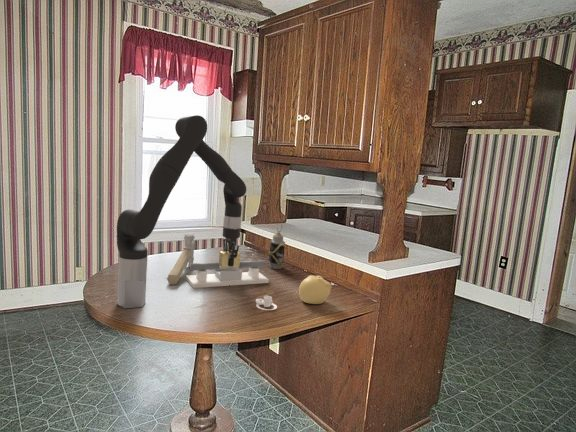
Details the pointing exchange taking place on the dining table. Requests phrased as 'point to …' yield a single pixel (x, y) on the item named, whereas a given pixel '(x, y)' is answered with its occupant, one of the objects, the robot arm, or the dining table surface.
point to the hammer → (183, 260)
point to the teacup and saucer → (265, 302)
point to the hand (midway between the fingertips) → (229, 264)
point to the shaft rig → (226, 274)
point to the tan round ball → (314, 289)
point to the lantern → (276, 251)
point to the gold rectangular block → (225, 259)
